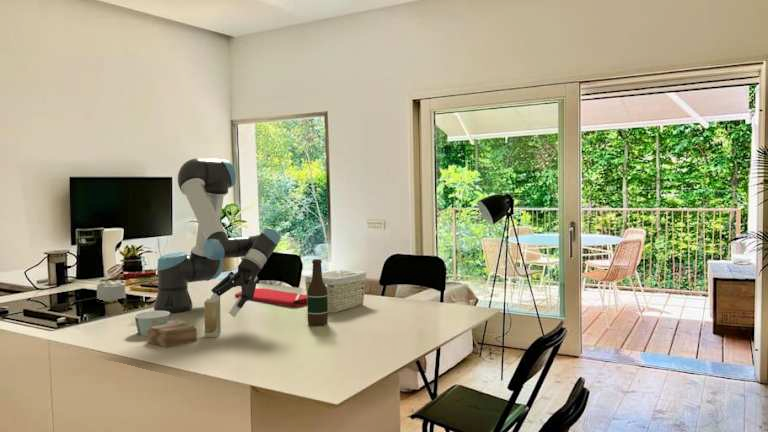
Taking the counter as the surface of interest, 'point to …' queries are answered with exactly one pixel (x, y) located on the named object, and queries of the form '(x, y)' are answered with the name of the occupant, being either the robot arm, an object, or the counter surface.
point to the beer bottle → (317, 297)
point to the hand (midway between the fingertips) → (219, 312)
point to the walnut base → (172, 334)
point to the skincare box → (212, 317)
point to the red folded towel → (278, 297)
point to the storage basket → (342, 288)
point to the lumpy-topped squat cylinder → (111, 290)
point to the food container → (150, 320)
